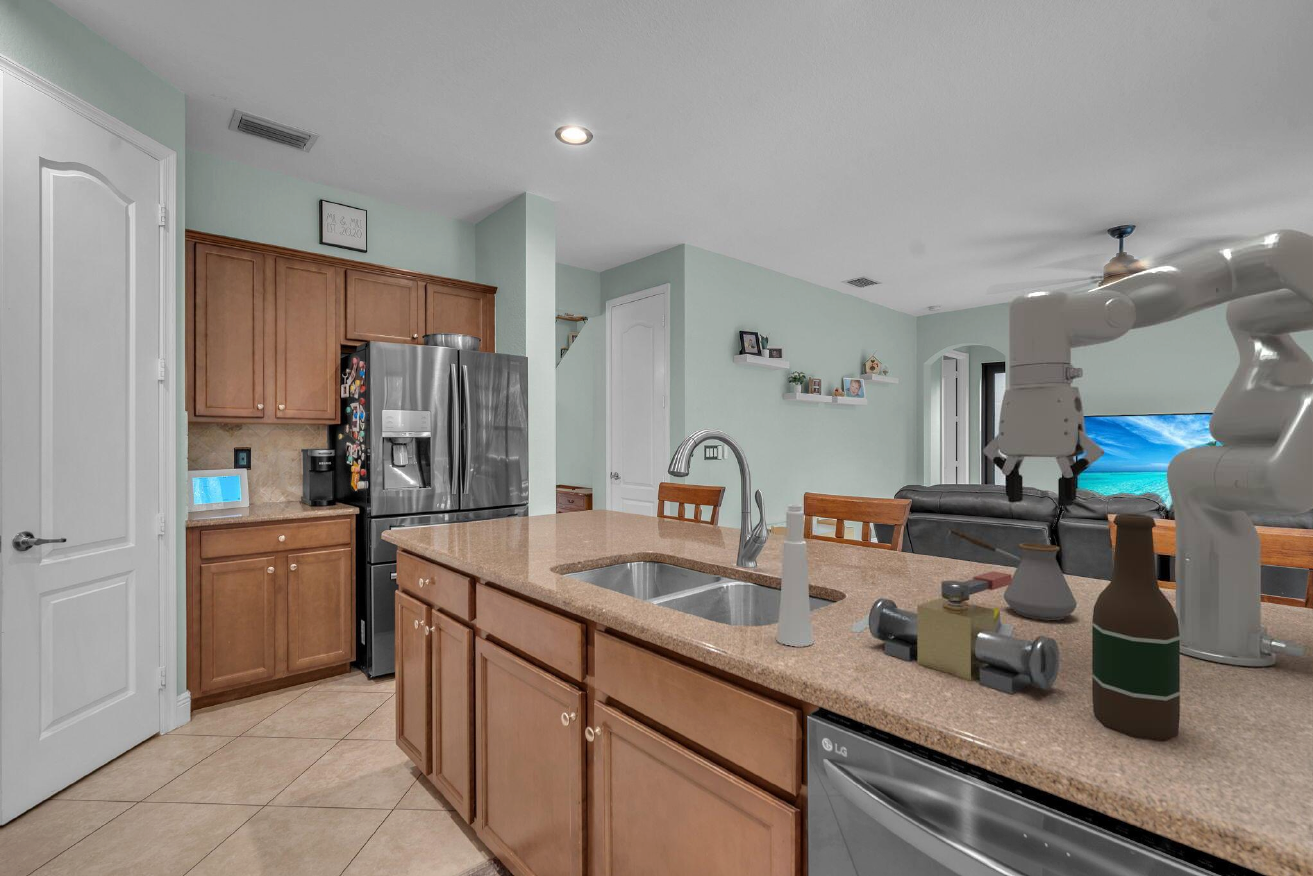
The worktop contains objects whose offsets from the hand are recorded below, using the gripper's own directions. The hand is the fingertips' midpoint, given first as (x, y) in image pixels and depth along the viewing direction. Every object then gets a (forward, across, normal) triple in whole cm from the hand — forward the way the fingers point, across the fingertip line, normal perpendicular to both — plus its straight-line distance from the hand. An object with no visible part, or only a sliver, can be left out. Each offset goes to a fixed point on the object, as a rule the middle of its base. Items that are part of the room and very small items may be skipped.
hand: (1039, 502), depth 86 cm
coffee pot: (+24, +15, -26) cm, 38 cm away
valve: (+24, +7, +10) cm, 27 cm away
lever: (+14, +7, +4) cm, 16 cm away
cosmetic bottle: (+24, +28, +20) cm, 42 cm away
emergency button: (+24, +16, -10) cm, 31 cm away
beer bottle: (+24, -14, +12) cm, 30 cm away
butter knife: (+24, +30, -3) cm, 39 cm away
